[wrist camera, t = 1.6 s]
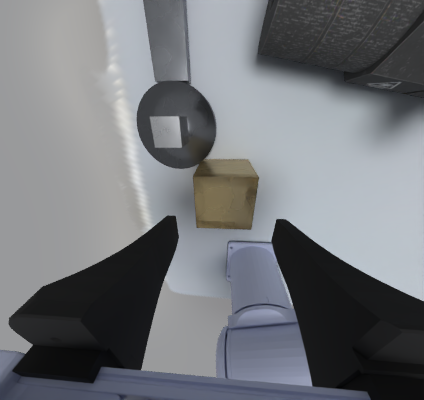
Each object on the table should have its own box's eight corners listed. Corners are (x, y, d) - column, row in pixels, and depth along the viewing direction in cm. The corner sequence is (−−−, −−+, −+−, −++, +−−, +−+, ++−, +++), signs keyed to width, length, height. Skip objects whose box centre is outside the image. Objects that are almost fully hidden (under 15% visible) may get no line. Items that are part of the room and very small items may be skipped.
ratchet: (216, 165, 18) (214, 178, 14) (151, 164, 19) (132, 177, 15) (218, -255, 8) (213, -637, 4) (73, -231, 8) (-65, -551, 4)
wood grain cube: (244, 200, 20) (251, 229, 15) (203, 199, 21) (196, 227, 16) (248, 159, 18) (258, 177, 13) (201, 159, 18) (193, 176, 13)
